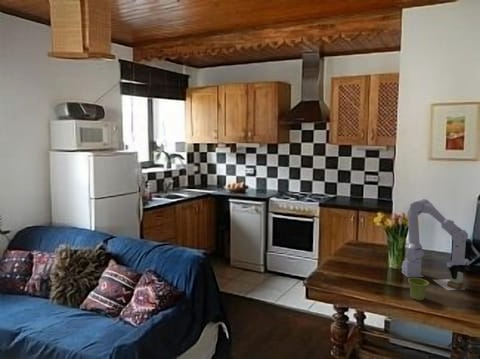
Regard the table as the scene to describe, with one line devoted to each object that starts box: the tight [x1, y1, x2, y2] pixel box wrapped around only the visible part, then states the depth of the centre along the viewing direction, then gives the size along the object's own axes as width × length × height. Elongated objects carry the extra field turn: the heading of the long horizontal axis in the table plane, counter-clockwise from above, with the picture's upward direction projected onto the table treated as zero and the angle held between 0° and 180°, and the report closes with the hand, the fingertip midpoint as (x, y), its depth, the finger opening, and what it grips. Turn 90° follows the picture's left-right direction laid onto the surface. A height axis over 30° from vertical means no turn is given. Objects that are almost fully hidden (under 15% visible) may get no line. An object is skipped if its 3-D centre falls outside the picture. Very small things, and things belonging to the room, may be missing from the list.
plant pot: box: [407, 277, 430, 301], centre depth 197 cm, size 9×9×9 cm
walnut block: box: [447, 281, 466, 291], centre depth 210 cm, size 6×6×2 cm
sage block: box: [450, 272, 464, 284], centre depth 209 cm, size 4×4×5 cm
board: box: [432, 278, 466, 291], centre depth 213 cm, size 10×14×1 cm
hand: (456, 278), depth 209 cm, fingers closed on sage block, 4 cm apart
